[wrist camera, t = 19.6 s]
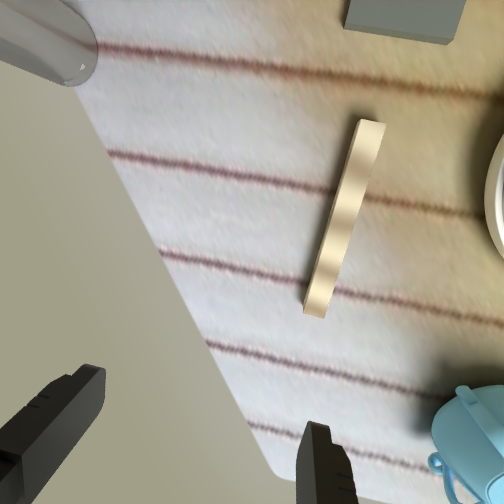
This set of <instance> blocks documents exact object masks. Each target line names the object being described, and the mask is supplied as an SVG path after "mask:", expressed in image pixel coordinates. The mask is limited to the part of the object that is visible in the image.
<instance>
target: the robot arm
mask: <svg viewBox="0 0 504 504" xmlns="http://www.w3.org/2000/svg"><path fill="white" fill-rule="evenodd" d="M0 60H1V61H4V62H6V63H9V64H11V65H13V66H16V67H18V68H21V69H23V70H26V71H28V72H30V73H33V74H35V75H38V76H40V77H42V78H45V79H48V80H50V81H52V82H55V83H57V84H60V85H63V86H67V87H70V86H77V85H80V84H82V83H83V82H85V81H86V80H87V79H88V78H89V77H90V76H91V74H92V73H93V71H94V68H95V66H96V62H97V43H96V39H95V36H94V33H93V31H92V29H91V28H90V26H89V24H88V23H87V22H86V21H85V20H84V19H83V18H82V17H81V16H80V15H78V14H77V13H76V12H74V11H73V10H72V9H70V8H69V7H68V6H67V5H65V3H64V2H62V1H61V0H0ZM105 379H106V370H105V369H104V368H101V367H96V366H93V365H89V364H84V365H82V366H81V367H80V368H79V369H78V370H77V371H76V372H75V373H74V374H73V375H72V376H71V375H67V374H65V375H63V376H61V377H60V378H58V379H56V380H54V381H52V382H50V383H49V384H48V385H47V386H46V387H45V388H44V389H43V390H42V391H41V392H39V393H38V395H37V396H36V397H34V398H33V399H32V400H31V401H30V402H29V403H28V404H27V406H24V407H23V408H22V409H21V410H20V411H19V412H18V413H17V414H16V415H15V416H13V417H12V419H10V420H9V421H8V422H7V423H6V424H5V425H4V426H3V427H2V428H1V429H0V504H31V503H32V502H33V501H34V499H35V498H36V497H37V495H38V494H39V493H40V491H41V490H42V489H43V487H44V486H45V485H46V483H47V482H48V481H49V479H50V478H51V477H52V475H53V474H54V473H55V471H56V470H57V469H58V467H59V466H60V465H61V463H62V462H63V461H64V459H65V458H66V457H67V455H68V454H69V453H70V451H71V450H72V449H73V447H74V446H75V445H76V444H77V442H78V441H79V440H80V438H81V437H82V436H83V434H84V433H85V432H86V430H87V429H88V428H89V426H90V425H91V424H92V422H93V421H94V420H95V418H96V417H97V416H98V414H99V412H100V410H101V408H102V406H103V403H104V399H105ZM296 502H297V503H296V504H359V503H358V498H357V495H356V488H355V483H354V481H353V473H352V468H351V463H350V460H349V458H348V456H347V455H346V453H345V451H344V449H343V447H342V446H340V445H336V444H333V443H332V439H331V432H330V428H329V426H327V425H323V424H320V423H316V422H312V421H308V423H307V425H306V428H305V431H304V434H303V437H302V440H301V443H300V446H299V449H298V453H297V459H296Z"/></svg>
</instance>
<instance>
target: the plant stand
mask: <svg viewBox="0 0 504 504" xmlns="http://www.w3.org/2000/svg"><path fill="white" fill-rule="evenodd" d="M465 3H466V0H351V1H350V5H349V9H348V13H347V17H346V21H345V25H344V29H348V30H354V31H360V32H366V33H373V34H379V35H385V36H391V37H398V38H404V39H410V40H417V41H423V42H429V43H435V44H442V45H448V44H449V43H450V42H451V41H452V40H453V39H454V36H455V33H456V30H457V27H458V24H459V21H460V18H461V15H462V12H463V9H464V6H465Z"/></svg>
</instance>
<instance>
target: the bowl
mask: <svg viewBox="0 0 504 504" xmlns="http://www.w3.org/2000/svg"><path fill="white" fill-rule="evenodd" d="M484 206H485V216H486V221H487V226H488V229H489V232H490V235H491V237H492V240H493V242H494V244H495V246H496V248H497V250H498V251H499V253H500V255H501V256H502V257H503V259H504V134H503V136H502V137H501V139H500V141H499V143H498V145H497V147H496V150H495V152H494V154H493V157H492V160H491V163H490V166H489V170H488V174H487V178H486V184H485V194H484Z"/></svg>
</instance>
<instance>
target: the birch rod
mask: <svg viewBox="0 0 504 504" xmlns="http://www.w3.org/2000/svg"><path fill="white" fill-rule="evenodd" d="M386 125H387V124H384V123H379V122H374V121H369V120H365V119H361V120H360V121H358V122H357V124H356V128H355V131H354V134H353V138H352V141H351V145H350V148H349V151H348V155H347V158H346V161H345V165H344V168H343V172H342V175H341V178H340V182H339V185H338V188H337V192H336V195H335V198H334V202H333V205H332V209H331V212H330V215H329V219H328V222H327V225H326V229H325V232H324V236H323V239H322V242H321V246H320V249H319V252H318V256H317V259H316V263H315V266H314V269H313V273H312V276H311V279H310V283H309V286H308V289H307V293H306V296H305V300H304V303H303V313H305V314H309V315H313V316H316V317H320V318H324V317H325V314H326V311H327V308H328V305H329V302H330V299H331V296H332V292H333V289H334V286H335V283H336V280H337V277H338V274H339V271H340V268H341V265H342V261H343V258H344V255H345V252H346V249H347V246H348V243H349V240H350V237H351V233H352V230H353V227H354V224H355V221H356V218H357V215H358V212H359V209H360V206H361V202H362V199H363V196H364V193H365V190H366V187H367V184H368V181H369V178H370V175H371V171H372V168H373V165H374V162H375V159H376V156H377V153H378V150H379V147H380V143H381V140H382V137H383V134H384V131H385V128H386Z"/></svg>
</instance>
